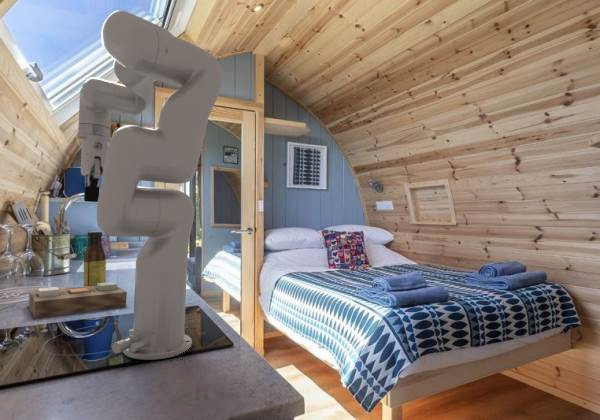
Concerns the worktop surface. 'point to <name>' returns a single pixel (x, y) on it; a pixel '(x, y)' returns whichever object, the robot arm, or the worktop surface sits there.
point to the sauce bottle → (94, 261)
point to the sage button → (106, 286)
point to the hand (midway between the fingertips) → (91, 201)
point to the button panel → (75, 301)
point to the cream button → (48, 292)
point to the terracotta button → (78, 291)
